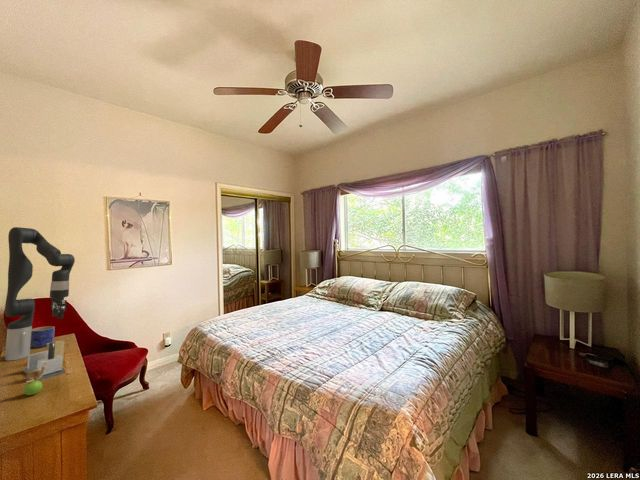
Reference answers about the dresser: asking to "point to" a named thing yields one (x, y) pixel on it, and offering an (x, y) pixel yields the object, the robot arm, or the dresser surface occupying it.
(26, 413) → the dresser surface
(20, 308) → the robot arm
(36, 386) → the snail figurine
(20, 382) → the dresser surface
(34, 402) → the dresser surface
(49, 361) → the free jaw
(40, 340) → the planter
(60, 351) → the brass block
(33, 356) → the vise
